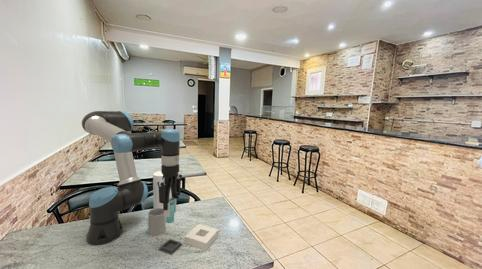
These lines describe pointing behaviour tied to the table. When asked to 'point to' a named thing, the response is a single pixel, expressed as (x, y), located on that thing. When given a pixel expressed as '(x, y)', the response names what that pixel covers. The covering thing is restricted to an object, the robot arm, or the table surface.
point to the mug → (156, 221)
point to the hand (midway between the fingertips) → (170, 213)
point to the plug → (171, 212)
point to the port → (199, 241)
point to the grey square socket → (170, 247)
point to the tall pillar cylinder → (157, 189)
